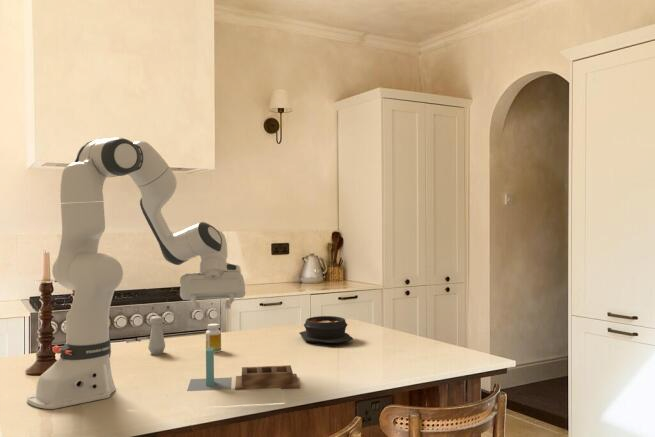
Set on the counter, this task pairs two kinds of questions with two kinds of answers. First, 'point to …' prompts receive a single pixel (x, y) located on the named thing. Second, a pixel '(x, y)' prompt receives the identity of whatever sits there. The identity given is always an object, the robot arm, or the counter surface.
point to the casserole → (326, 330)
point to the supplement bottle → (213, 337)
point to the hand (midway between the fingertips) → (212, 308)
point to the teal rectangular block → (209, 366)
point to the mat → (201, 385)
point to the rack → (267, 378)
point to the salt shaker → (156, 336)
